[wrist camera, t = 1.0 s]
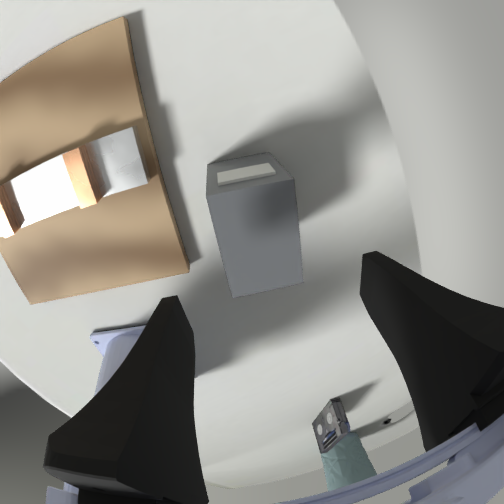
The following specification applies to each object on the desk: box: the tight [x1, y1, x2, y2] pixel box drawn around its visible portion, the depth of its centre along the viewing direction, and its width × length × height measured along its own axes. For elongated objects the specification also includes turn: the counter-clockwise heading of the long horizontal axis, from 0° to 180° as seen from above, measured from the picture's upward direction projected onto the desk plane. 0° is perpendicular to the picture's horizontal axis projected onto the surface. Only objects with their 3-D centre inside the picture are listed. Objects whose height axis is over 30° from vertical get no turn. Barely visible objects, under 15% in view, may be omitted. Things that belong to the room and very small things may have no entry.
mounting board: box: [0, 17, 190, 304], centre depth 16 cm, size 18×16×1 cm
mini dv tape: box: [312, 398, 350, 454], centre depth 35 cm, size 8×2×6 cm, turn 170°
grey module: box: [206, 152, 304, 298], centre depth 17 cm, size 6×4×6 cm, turn 9°
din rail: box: [0, 125, 151, 238], centre depth 14 cm, size 4×15×2 cm, turn 99°
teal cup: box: [321, 433, 377, 491], centre depth 43 cm, size 10×10×12 cm
